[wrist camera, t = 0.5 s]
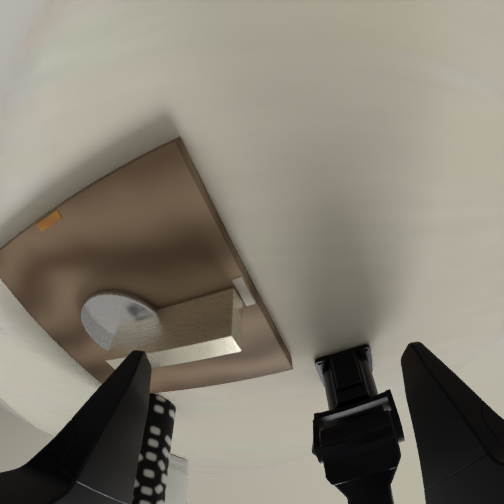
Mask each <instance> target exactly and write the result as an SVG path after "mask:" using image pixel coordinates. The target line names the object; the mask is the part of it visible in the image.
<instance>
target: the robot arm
mask: <svg viewBox="0 0 504 504" xmlns="http://www.w3.org/2000/svg"><path fill="white" fill-rule="evenodd" d="M315 366H316V369H317V371H318V373H319V376H320V378H321V381H322V383H323V385H324V386H325V390H326V395H327V401H328V406H329V411H325V412H321V413H315V414H314V420H313V446H312V453H313V454H314V455H316V456H317V458H318V461H319V462H320V464H321V465H324V468H325V474H326V478H327V480H328V481H329V482H330V483H331V484H332V485H335V486H336V487H337V488H338V489H339V490H340V491H341V492H342V493H343V494H344V495H345V496H346V497H347V499H348V504H394V501H393V496H392V490H391V483H392V480H393V478H394V475H395V472H396V470H397V467H398V464H399V461H400V458H401V453H400V448H399V444H398V443H400V442H402V441H404V434H403V430H402V425H401V422H400V418H399V415H398V412H397V409H396V406H395V403H394V400H393V397H392V394H391V391H390V389H389V390H386V391H385V392H383V393H381V394H378V392H377V389H376V385H375V382H374V378H373V375H372V360H371V351H370V346H369V345H368V344H366V345H362V346H359V347H356V348H353V349H350V350H347V351H344V352H340V353H337V354H334V355H330V356H327V357H323V358H320V359H317V360H315ZM401 366H402V372H403V379H404V385H405V392H406V398H407V403H408V407H409V411H410V415H411V420H412V424H413V429H414V433H415V438H416V443H417V448H418V454H419V459H420V465H421V470H422V477H423V484H424V489H425V490H424V492H425V500H426V504H504V419H502V418H501V417H500V416H499V415H498V414H497V413H495V412H494V411H493V410H492V409H491V408H490V407H489V406H488V405H487V404H486V403H485V402H484V401H482V399H481V398H480V397H479V396H478V395H477V394H475V392H473V390H471V389H470V388H469V387H468V386H467V385H466V384H465V383H464V382H463V381H462V380H461V379H460V378H459V377H458V376H457V375H456V374H455V373H454V372H452V371H451V370H450V369H449V368H448V367H447V366H446V365H445V364H444V363H443V362H442V361H441V360H440V359H438V358H437V357H436V356H435V355H434V354H433V353H432V352H431V351H430V350H429V349H427V348H426V347H425V346H424V345H423V344H422V343H420V342H412V343H409V344H408V346H407V348H406V349H405V351H404V353H403V355H402V357H401ZM151 373H152V367H151V364H150V361H149V359H148V357H147V354H146V352H144V351H140V350H133V351H132V352H131V353H130V354H129V355H128V356H127V357H126V358H125V359H124V360H123V362H122V363H121V364H120V365H119V366H118V367H117V368H116V369H115V370H114V372H113V373H112V374H111V375H110V376H109V377H108V378H107V379H106V380H105V382H104V383H103V384H102V385H101V386H100V387H99V388H98V389H97V391H96V392H95V393H94V394H93V395H92V396H91V397H90V398H89V400H88V401H87V402H86V403H85V404H84V405H83V406H82V408H81V409H80V410H79V411H78V412H77V413H76V414H75V415H74V417H73V418H72V420H70V421H69V422H68V423H67V425H66V426H65V427H64V428H63V429H62V430H61V431H60V432H59V433H58V434H57V436H56V437H55V438H53V439H52V440H51V441H50V442H49V443H48V444H47V445H46V446H45V447H44V448H43V449H42V450H41V451H40V452H38V453H37V454H36V455H35V456H34V457H33V458H32V459H31V460H30V461H29V462H27V463H26V464H25V465H23V466H21V467H20V468H17V469H14V470H10V471H6V472H1V473H0V504H132V499H133V492H134V485H135V479H136V472H137V466H138V460H139V454H140V449H141V443H142V438H143V433H144V427H145V422H146V417H147V412H148V404H149V393H150V382H151Z"/></svg>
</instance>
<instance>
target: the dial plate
mask: <svg viewBox="0 0 504 504" xmlns="http://www.w3.org/2000/svg"><path fill="white" fill-rule="evenodd" d="M0 278H1V279H2V281H3V282H4V283H5V285H6V286H7V287H8V289H9V290H10V291H11V292H12V294H13V295H14V296H15V297H16V298H17V300H18V301H19V302H20V303H21V304H22V306H23V307H24V308H25V309H26V310H27V311H28V313H29V314H30V315H31V316H32V317H33V318H34V319H35V320H36V322H37V323H38V324H39V325H40V326H41V327H42V328H43V329H44V330H45V331H46V332H47V333H48V334H49V335H50V336H51V337H52V338H53V339H54V340H55V341H56V342H57V343H58V344H59V345H60V346H61V347H62V348H63V349H64V350H65V351H66V352H67V353H68V354H69V355H70V356H71V357H72V358H73V359H74V360H75V361H76V362H78V363H79V364H80V365H81V366H82V367H83V368H84V369H85V370H87V371H88V372H89V373H90V374H91V375H92V376H93V377H95V378H96V379H97V380H98V381H99V382H101V383H102V384H103V383H104V382H105V380H106V379H107V378H108V377H109V376H110V375H111V374H112V373H113V372H114V370H115V369H114V368H113V367H112V366H111V365H109V364H108V363H107V362H106V361H105V360H106V357H107V354H108V352H109V351H108V350H106V349H104V348H103V347H101V346H100V345H99V344H97V343H96V342H95V341H94V340H93V339H92V338H91V337H90V336H89V334H88V333H87V332H86V330H85V328H84V326H83V324H82V320H81V311H82V308H83V306H84V304H85V302H86V300H87V299H88V298H89V297H90V296H91V295H92V294H94V293H96V292H99V291H104V290H117V291H122V292H127V293H130V294H133V295H135V296H138V297H140V298H142V299H144V300H145V301H147V302H149V303H150V304H151V305H153V306H154V307H155V308H157V309H161V308H165V307H169V306H172V305H176V304H179V303H183V302H186V301H190V300H193V299H197V298H200V297H204V296H207V295H211V294H214V293H217V292H221V291H224V290H228V289H231V288H234V289H235V291H236V293H237V294H238V296H239V298H240V300H241V301H242V303H243V312H242V351H240V352H236V353H231V354H226V355H222V356H217V357H212V358H207V359H202V360H197V361H191V362H186V363H180V364H174V365H169V366H162V367H156V368H152V373H151V382H150V393H158V392H168V391H176V390H184V389H192V388H199V387H206V386H212V385H218V384H224V383H230V382H236V381H241V380H246V379H251V378H256V377H261V376H265V375H270V374H275V373H279V372H283V371H287V370H291V369H293V367H292V359H291V356H290V355H289V353H288V351H287V349H286V347H285V345H284V343H283V341H282V339H281V337H280V335H279V333H278V331H277V329H276V327H275V326H274V324H273V322H272V320H271V318H270V316H269V314H268V312H267V310H266V308H265V306H264V304H263V302H262V300H261V298H260V296H259V294H258V292H257V290H256V288H255V286H254V284H253V283H252V281H251V279H250V277H249V275H248V273H247V271H246V269H245V267H244V265H243V263H242V261H241V259H240V257H239V255H238V253H237V251H236V249H235V247H234V245H233V243H232V241H231V239H230V237H229V235H228V233H227V231H226V229H225V227H224V225H223V223H222V221H221V219H220V217H219V215H218V213H217V211H216V209H215V207H214V205H213V203H212V201H211V199H210V197H209V195H208V193H207V191H206V189H205V187H204V185H203V182H202V180H201V178H200V176H199V174H198V172H197V170H196V168H195V166H194V164H193V162H192V160H191V158H190V156H189V154H188V152H187V150H186V148H185V146H184V144H183V142H182V139H181V137H178V138H176V139H174V140H172V141H170V142H167V143H165V144H163V145H161V146H159V147H157V148H155V149H153V150H151V151H149V152H147V153H145V154H144V155H142V156H140V157H138V158H136V159H134V160H132V161H130V162H128V163H127V164H125V165H123V166H121V167H119V168H118V169H116V170H114V171H112V172H111V173H109V174H107V175H105V176H104V177H102V178H100V179H99V180H97V181H95V182H94V183H92V184H90V185H89V186H87V187H86V188H84V189H82V190H81V191H79V192H78V193H76V194H75V195H73V196H71V197H70V198H68V199H67V200H65V201H64V202H62V203H61V204H59V205H58V206H56V207H55V208H54V209H52V210H51V211H49V212H48V213H46V214H45V215H44V216H42V217H41V218H39V219H38V220H37V221H35V222H34V223H33V224H31V225H30V226H29V227H27V228H26V229H25V230H23V231H22V232H21V233H19V234H18V235H17V236H16V237H14V238H13V239H12V240H11V241H9V242H8V243H7V244H6V245H4V246H3V247H2V248H1V249H0Z"/></svg>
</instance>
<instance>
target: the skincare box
mask: <svg viewBox="0 0 504 504" xmlns="http://www.w3.org/2000/svg"><path fill="white" fill-rule="evenodd" d="M187 482H188V460H185V459H182V458H179V457H176V456H174V455H171V454H170V457H169V466H168V475H167V485H166V495H165V504H187Z"/></svg>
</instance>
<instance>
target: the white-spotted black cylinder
mask: <svg viewBox="0 0 504 504" xmlns="http://www.w3.org/2000/svg"><path fill="white" fill-rule="evenodd" d="M175 411H176V408H175V406H174V405H173V404H172V403H171V402H170V401H168V400H166V399H164V398H162V397H160V396H157V395H154V394H151V393H149V404H148V412H147V417H146V422H145V427H144V433H143V438H142V443H141V449H140V454H139V460H138V466H137V472H136V479H135V485H134V492H133V499H132V504H165V495H166V485H167V475H168V466H169V457H170V449H171V441H172V433H173V426H174V418H175Z"/></svg>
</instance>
